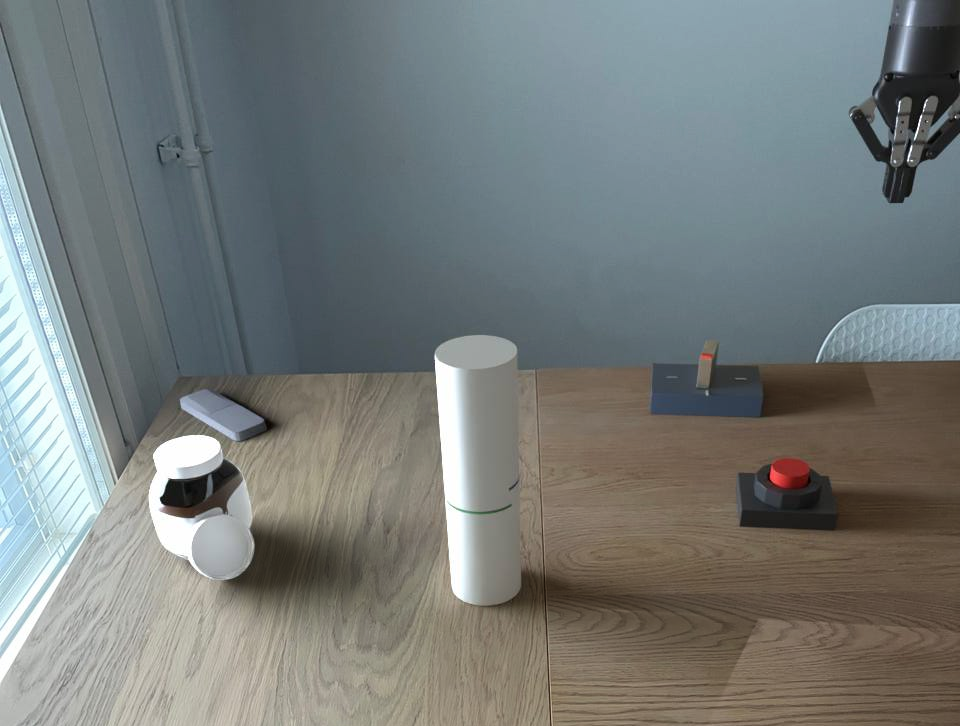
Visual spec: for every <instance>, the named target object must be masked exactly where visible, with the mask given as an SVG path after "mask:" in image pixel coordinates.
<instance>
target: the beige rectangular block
mask: <svg viewBox="0 0 960 726" xmlns="http://www.w3.org/2000/svg"><path fill="white" fill-rule="evenodd" d="M719 344H720V341H719V340H714V339H713V340H712V339H706V341H705V344H704V347H703V349H702V350H701V351H702V352H701V354H700V357H699V361H698V364H699V369H698V379H697V388H706V389H709V387H710V384H711V381H712V378H713V376H714V373H715V370H716V365H717V363H718V353H719Z"/></svg>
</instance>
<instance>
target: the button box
mask: <svg viewBox="0 0 960 726" xmlns="http://www.w3.org/2000/svg"><path fill="white" fill-rule="evenodd" d="M772 464H773V462H772V463H769V464H765V465H763V466H762V467H760V468H759V469H758V470H757V471H756V472H737V475H736V482H735V498H736V506H737V518H738V526H739V527H742V528H762V529H763V528H765V529H785V530H807V531H827V532H828V531H829V532H830V531H831V532H833V531H835V529H836V524H837V521H838V516H839V513H838V509H837V505H836V500H835V496H834V492H833V488H832V485H831V480H830V476H829V475H821V474H819V473H818V472H817V471H816V470H814V469H813V468H811V467H810V473H809V478H808V483H807V485H806V486H805V487H803V488H799V489H784V488H781V487H777V486H774V485H773V484H772V483H771V482H770V473H771V467H772Z"/></svg>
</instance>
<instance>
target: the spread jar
mask: <svg viewBox="0 0 960 726" xmlns="http://www.w3.org/2000/svg"><path fill="white" fill-rule="evenodd" d="M153 460H154V464H155V467H156V470H157V472H156V473H155V475H154V478H153V480H152V483H151V484H150V489H149V493H148V502H149V509H150V513H151V517H152V520H153V524H154V527H155V530H156V534H157V536H158V538H159V541H160V543H161V544H162V545H163V546H164V547H163V548H165V549H167V550H168V551H169V552H170V553H172V554H174V555H175V556H177V557H180V558H181V559H184V560H186V561H189V562H190V564H191V565H192V567H193V568H194V569H195V570H196V571H197V572H198V573H200V574H201V575H203V576H205V577H207V578H209V579H212V580H216V581H227V580H231V579H234V578H236V577H238V576H239V575H241V574H242V573H244V571H246V569H248V567H249V566H250V564H251V563H252V560H253V557H254V553H255V539H254V536H253V533H252V531H251V526H252V523H253V522H252V521H253V512H252V511H253V510H252V505H251V500H250V496H249V490H248V487H247V483H246V482H247V481H246V480H245V477H244V474H243V472H242V470H241V469H240V468H239V467H238V466H237V465H236V464H234V463H233V462H232V461H230V460H229V459H227V458H226V457H224V454H223V450H222V445H221V443H220V441H218V440H217V439H215V438H214V437H211V436H207V435H199V434H197V435H185V436H180V437H176V438H173V439H171V440H168V441H166V442H164V443H163V444H161V445H160V446H159V447H157V449H156V450H155V452H154V453H153Z"/></svg>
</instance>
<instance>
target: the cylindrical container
mask: <svg viewBox="0 0 960 726" xmlns="http://www.w3.org/2000/svg"><path fill="white" fill-rule="evenodd" d="M434 360H435V361H434V363H435V376H436V378H435V379H436V390H437V403H438V416H439V417H438V418H439V419H438V420H439V430H440V431H439V432H440V443H441V444H440V445H441V457H442V471H443V485H444V487H443V488H444V499H445V512H446V526H447V527H446V528H447V541H448V554H449V569H450V581H451V589H452V593H453V594H454V595H455V596H456V598H457V599H459V600H461V601H462V602H464V603H466V604H469V605H473V606H481V607H482V606H483V607H488V606H489V607H490V606H496V605H499V604H503V603H507V602H508V601H510V600H512V599H513V598H514V597H516V596H517V595H518V593H520V590H521V587H522V551H521V550H522V549H521V547H522V545H521V542H522V541H521V494H520V493H521V492H520V490H521V489H520V488H521V487H520V442H519V441H520V437H519V436H520V435H519V433H520V432H519V431H520V430H519V427H520V425H519V423H520V422H519V376H518V375H519V373H518V369H519V368H518V348H517V345H516V344H515V343H513V342H512V341H510V340H509V339H506V338H504V337H500V336H496V335H486V334H474V335H473V334H472V335H465V336H459V337H455V338H452V339H449V340H447V341H445V342H443V343H441V344H440V345H438V346H437V347H436V349H435V351H434Z"/></svg>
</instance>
